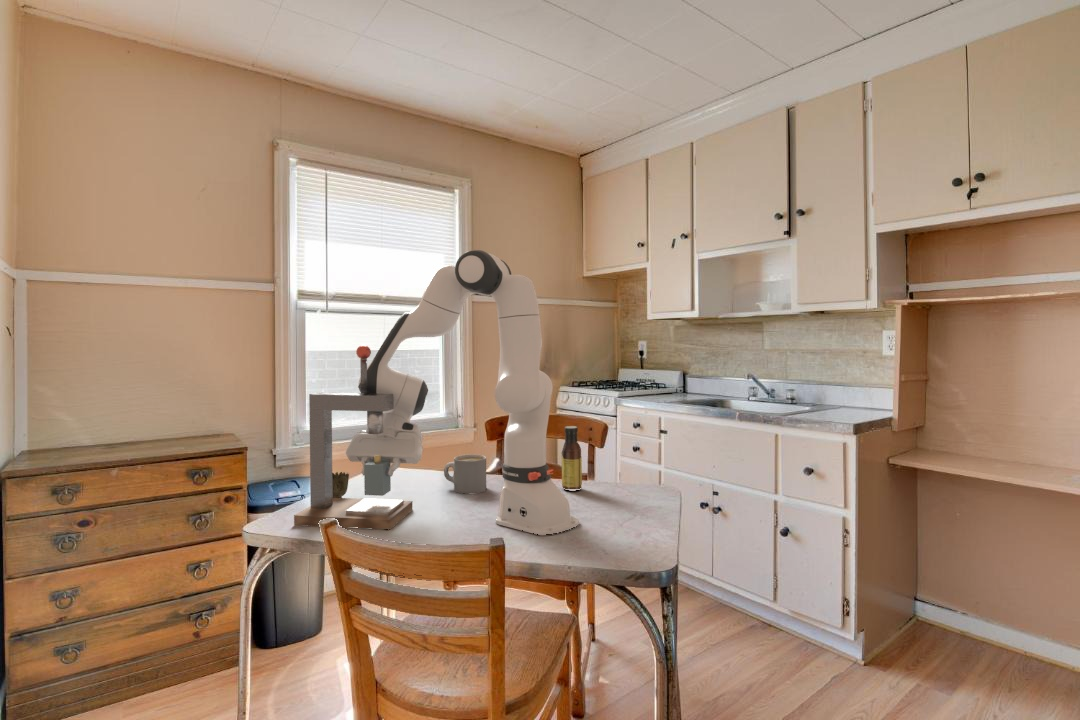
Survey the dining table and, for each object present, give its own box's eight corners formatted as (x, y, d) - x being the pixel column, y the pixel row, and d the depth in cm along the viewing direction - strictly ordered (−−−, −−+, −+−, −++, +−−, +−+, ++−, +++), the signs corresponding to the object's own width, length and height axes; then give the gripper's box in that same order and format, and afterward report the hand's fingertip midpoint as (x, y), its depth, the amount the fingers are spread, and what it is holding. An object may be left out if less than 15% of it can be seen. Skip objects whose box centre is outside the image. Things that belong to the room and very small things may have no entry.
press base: (412, 510, 153) (412, 501, 153) (389, 530, 137) (389, 520, 137) (326, 506, 156) (326, 497, 156) (294, 525, 140) (294, 515, 140)
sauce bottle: (571, 486, 178) (571, 424, 178) (585, 489, 174) (586, 426, 173) (557, 489, 174) (557, 426, 173) (571, 493, 169) (572, 429, 169)
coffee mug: (491, 487, 177) (491, 455, 176) (476, 495, 167) (476, 462, 167) (455, 482, 182) (455, 452, 181) (438, 490, 172) (438, 458, 172)
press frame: (403, 503, 150) (402, 345, 149) (387, 516, 139) (386, 345, 138) (325, 500, 153) (323, 344, 152) (303, 512, 142) (301, 345, 141)
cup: (340, 506, 155) (339, 478, 155) (316, 505, 157) (316, 477, 157) (354, 499, 163) (354, 472, 162) (331, 497, 164) (331, 470, 164)
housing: (390, 490, 149) (390, 454, 148) (382, 495, 144) (382, 458, 144) (372, 489, 150) (372, 453, 149) (364, 495, 145) (364, 457, 144)
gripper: (352, 423, 154) (334, 467, 145) (423, 425, 152) (410, 469, 142) (359, 437, 159) (343, 479, 150) (428, 439, 156) (416, 482, 147)
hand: (376, 474), depth 146 cm, fingers closed on housing, 5 cm apart
